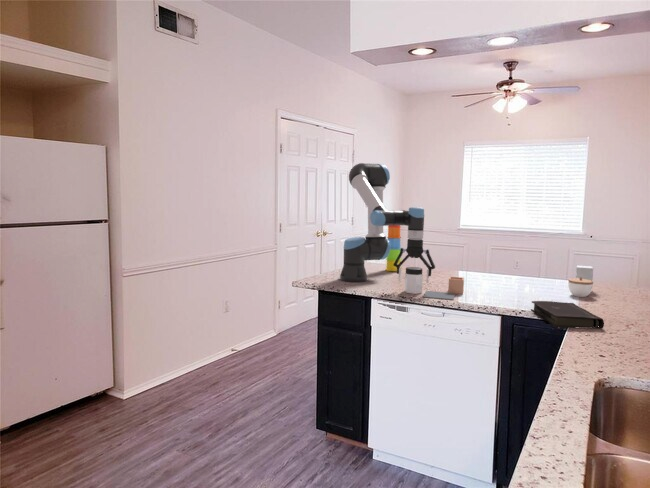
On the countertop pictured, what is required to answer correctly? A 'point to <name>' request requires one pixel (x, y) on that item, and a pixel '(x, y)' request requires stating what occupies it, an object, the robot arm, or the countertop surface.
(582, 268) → the supplement box
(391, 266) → the stacking cups
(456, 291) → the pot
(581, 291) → the lidded jar
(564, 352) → the countertop surface
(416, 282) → the jar
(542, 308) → the diary
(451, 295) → the mat
